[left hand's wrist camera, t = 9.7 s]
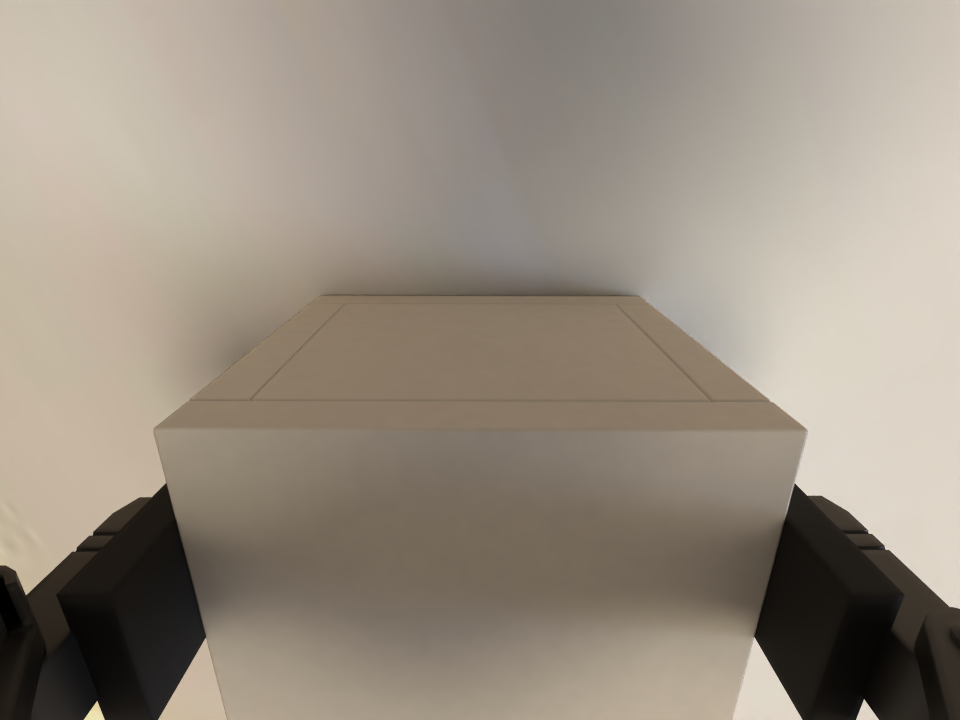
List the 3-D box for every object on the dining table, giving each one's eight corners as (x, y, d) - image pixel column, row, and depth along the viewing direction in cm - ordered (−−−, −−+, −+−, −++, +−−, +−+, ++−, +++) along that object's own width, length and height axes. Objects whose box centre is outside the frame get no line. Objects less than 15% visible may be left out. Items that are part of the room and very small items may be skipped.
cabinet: (594, 691, 23) (661, 996, 14) (364, 691, 23) (296, 995, 14) (640, 295, 16) (810, 430, 8) (319, 294, 16) (150, 428, 8)
